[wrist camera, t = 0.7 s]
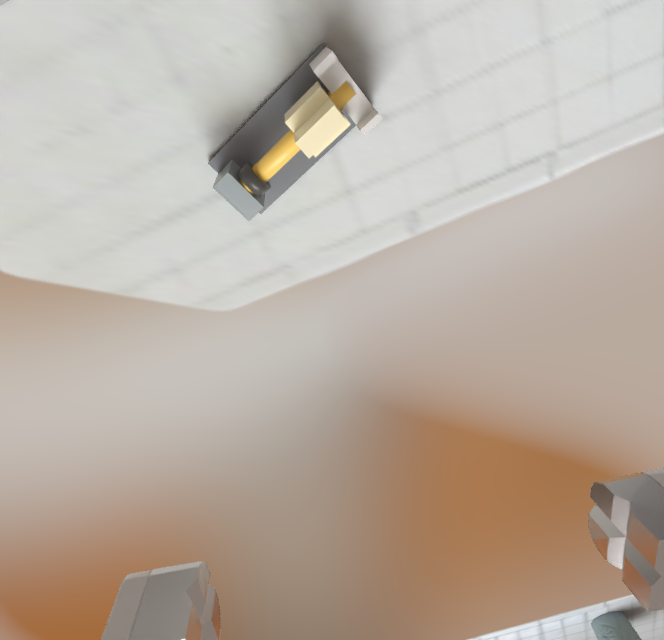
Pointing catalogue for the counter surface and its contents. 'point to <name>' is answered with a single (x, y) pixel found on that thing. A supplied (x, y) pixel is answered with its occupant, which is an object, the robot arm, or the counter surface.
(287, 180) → the linear slide clamp
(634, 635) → the grey plant pot
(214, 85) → the counter surface
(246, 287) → the counter surface
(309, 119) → the notched stepped block
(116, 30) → the counter surface
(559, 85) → the counter surface
